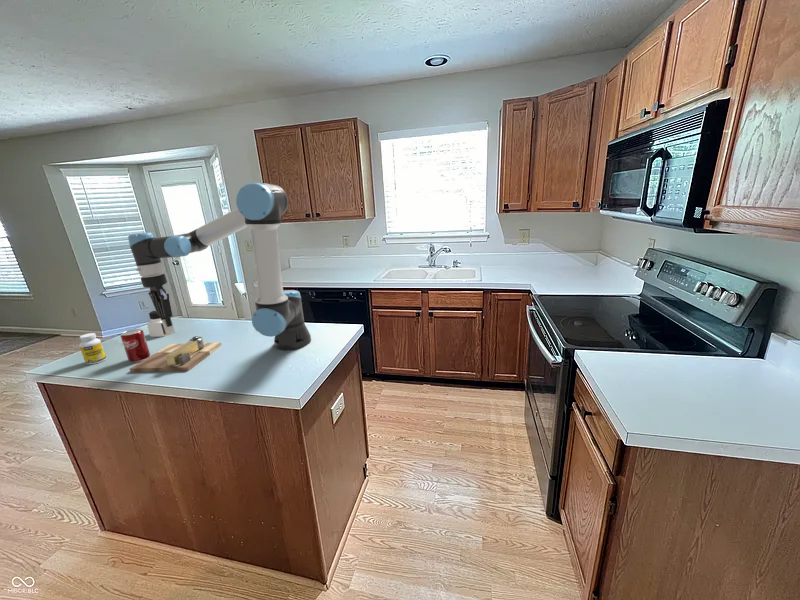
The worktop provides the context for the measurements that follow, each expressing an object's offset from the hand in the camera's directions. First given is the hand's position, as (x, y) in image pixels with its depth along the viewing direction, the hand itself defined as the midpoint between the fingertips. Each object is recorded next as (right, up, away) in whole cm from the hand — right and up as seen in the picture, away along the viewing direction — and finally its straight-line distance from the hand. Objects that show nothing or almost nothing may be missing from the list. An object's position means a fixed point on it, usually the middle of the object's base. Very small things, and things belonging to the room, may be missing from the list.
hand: (170, 333), depth 131 cm
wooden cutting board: (0, -10, +5) cm, 11 cm away
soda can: (-16, -11, +6) cm, 21 cm away
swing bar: (+5, -9, +2) cm, 10 cm away
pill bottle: (-34, -12, +6) cm, 37 cm away
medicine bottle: (-26, -4, +32) cm, 42 cm away
